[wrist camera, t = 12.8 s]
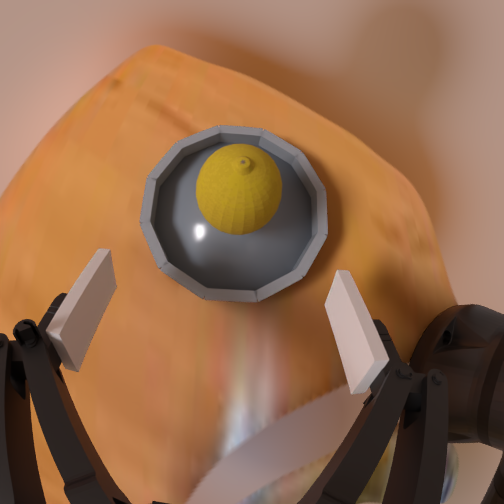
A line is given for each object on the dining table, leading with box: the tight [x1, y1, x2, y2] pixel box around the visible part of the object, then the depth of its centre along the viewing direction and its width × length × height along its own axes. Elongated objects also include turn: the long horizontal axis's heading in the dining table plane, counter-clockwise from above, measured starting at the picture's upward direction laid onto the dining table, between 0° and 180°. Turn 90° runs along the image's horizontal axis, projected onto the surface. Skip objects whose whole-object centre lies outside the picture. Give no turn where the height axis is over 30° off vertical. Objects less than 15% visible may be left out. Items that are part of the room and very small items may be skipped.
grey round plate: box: [140, 125, 328, 303], centre depth 22 cm, size 14×14×2 cm
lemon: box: [196, 144, 282, 235], centre depth 18 cm, size 6×6×8 cm
